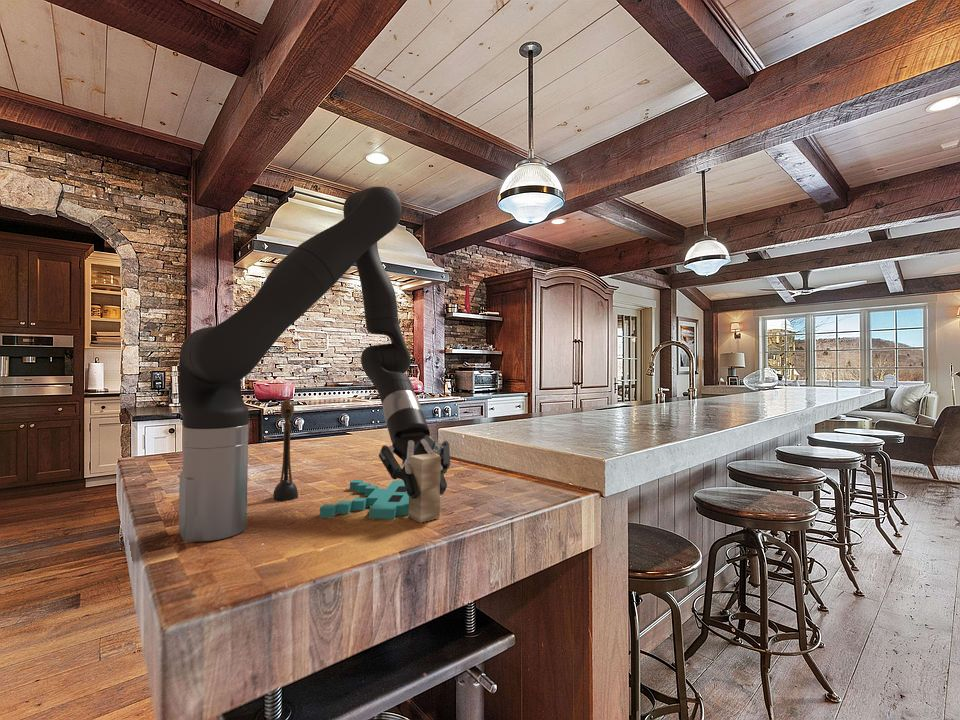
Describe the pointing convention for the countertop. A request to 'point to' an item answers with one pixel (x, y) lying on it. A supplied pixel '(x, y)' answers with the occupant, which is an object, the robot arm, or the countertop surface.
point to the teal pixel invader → (373, 501)
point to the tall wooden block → (426, 487)
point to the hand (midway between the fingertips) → (429, 494)
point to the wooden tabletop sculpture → (286, 459)
